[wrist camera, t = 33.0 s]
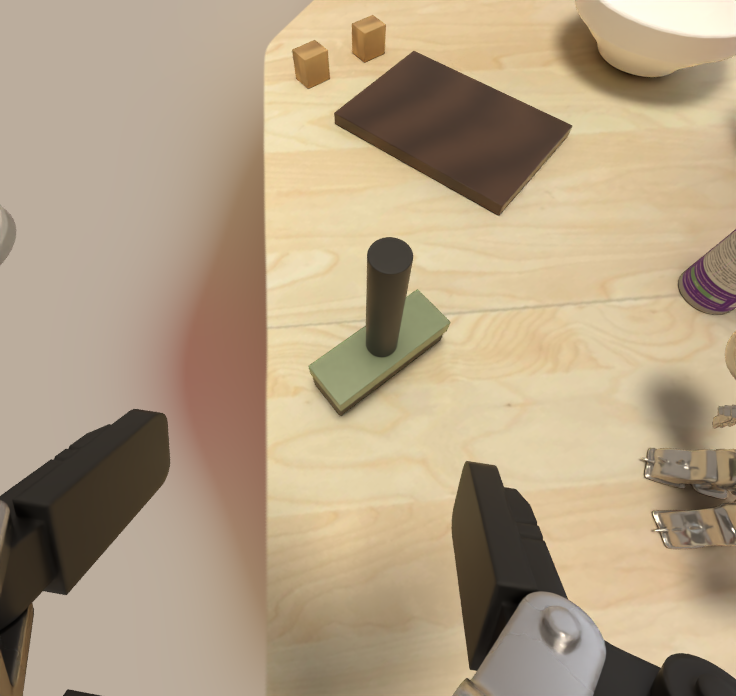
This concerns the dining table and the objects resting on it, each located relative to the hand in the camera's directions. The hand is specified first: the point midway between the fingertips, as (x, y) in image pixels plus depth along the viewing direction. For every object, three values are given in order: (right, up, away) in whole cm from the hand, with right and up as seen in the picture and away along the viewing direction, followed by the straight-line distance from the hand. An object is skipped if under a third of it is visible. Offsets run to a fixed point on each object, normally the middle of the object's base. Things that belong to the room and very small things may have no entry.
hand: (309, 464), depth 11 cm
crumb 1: (-4, +33, +33) cm, 47 cm away
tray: (+10, +26, +32) cm, 42 cm away
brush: (+2, +2, +20) cm, 21 cm away
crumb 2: (+2, +38, +35) cm, 52 cm away
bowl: (+34, +38, +38) cm, 63 cm away
